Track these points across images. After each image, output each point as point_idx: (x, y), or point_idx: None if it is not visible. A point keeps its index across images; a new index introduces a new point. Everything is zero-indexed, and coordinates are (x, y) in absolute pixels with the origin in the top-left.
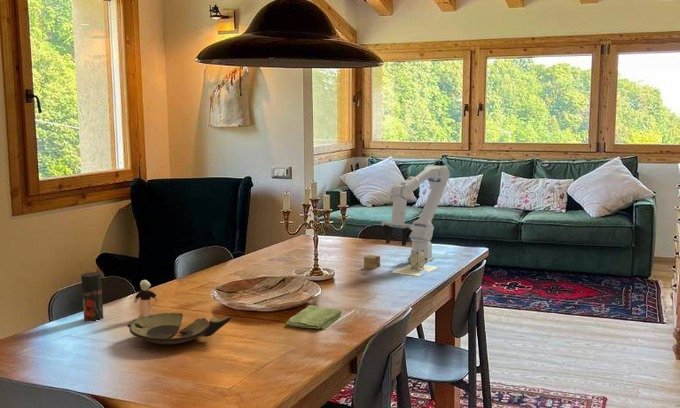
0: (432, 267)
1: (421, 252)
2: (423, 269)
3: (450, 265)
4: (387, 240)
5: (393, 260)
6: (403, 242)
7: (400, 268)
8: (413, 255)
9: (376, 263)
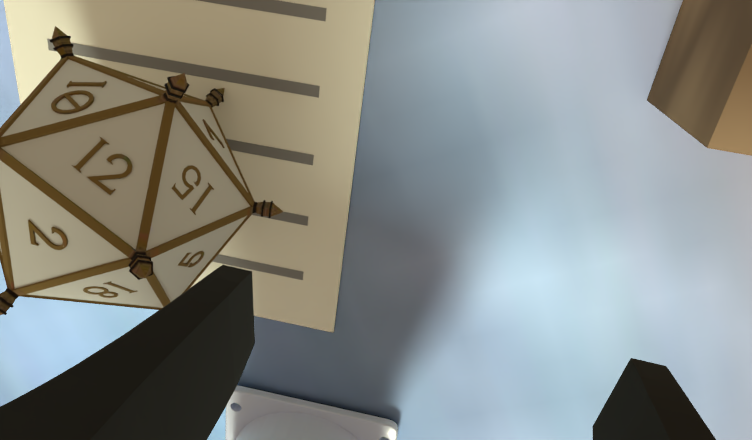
0: None
1: (3, 244)
2: None
3: (14, 360)
4: (649, 413)
5: (560, 432)
6: (176, 300)
7: (361, 101)
8: (77, 123)
9: (714, 1)
